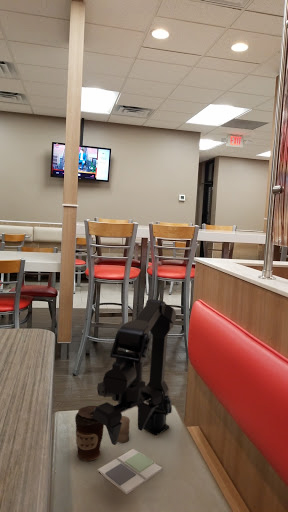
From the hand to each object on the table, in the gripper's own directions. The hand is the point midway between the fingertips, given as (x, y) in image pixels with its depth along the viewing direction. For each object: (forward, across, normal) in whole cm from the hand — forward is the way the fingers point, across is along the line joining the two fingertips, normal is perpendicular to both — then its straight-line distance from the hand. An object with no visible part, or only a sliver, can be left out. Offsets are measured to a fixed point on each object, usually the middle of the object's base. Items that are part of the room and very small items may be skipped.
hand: (127, 436), depth 96 cm
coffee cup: (+13, 0, -15) cm, 20 cm away
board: (+12, -4, -2) cm, 13 cm away
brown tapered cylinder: (+12, -12, -14) cm, 22 cm away
